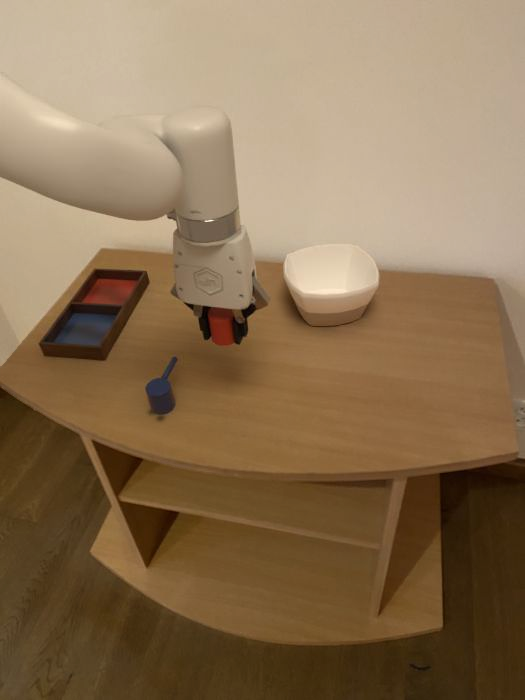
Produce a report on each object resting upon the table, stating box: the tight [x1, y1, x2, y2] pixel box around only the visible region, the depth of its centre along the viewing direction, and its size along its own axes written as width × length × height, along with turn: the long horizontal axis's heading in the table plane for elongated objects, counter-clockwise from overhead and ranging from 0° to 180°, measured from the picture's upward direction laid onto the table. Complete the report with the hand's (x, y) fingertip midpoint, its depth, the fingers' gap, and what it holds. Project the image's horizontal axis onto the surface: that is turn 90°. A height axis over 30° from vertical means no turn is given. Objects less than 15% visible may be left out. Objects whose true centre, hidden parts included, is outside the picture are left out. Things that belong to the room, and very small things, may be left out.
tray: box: [38, 267, 151, 361], centre depth 102 cm, size 25×12×3 cm, turn 170°
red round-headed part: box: [208, 307, 236, 347], centre depth 74 cm, size 10×4×4 cm, turn 165°
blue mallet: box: [145, 356, 179, 415], centre depth 85 cm, size 10×4×4 cm, turn 165°
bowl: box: [282, 243, 381, 327], centre depth 98 cm, size 18×18×9 cm
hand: (224, 335), depth 73 cm, fingers closed on red round-headed part, 4 cm apart
